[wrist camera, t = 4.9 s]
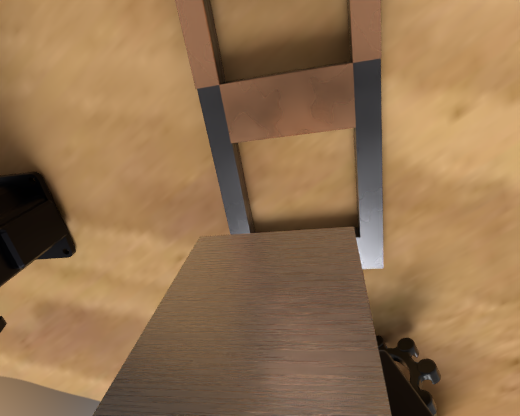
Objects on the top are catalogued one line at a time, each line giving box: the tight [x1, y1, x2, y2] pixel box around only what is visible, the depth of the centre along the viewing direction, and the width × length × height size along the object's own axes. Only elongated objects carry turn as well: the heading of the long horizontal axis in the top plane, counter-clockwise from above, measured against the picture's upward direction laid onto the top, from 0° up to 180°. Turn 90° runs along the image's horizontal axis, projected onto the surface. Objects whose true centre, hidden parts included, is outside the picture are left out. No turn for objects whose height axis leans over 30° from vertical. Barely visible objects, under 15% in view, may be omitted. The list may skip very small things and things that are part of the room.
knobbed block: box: [93, 227, 392, 416], centre depth 7 cm, size 4×4×8 cm
